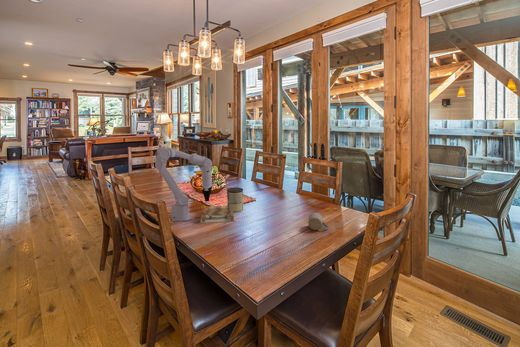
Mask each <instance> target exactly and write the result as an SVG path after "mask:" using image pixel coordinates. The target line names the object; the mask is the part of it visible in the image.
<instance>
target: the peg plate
mask: <svg viewBox="0 0 520 347" xmlns="http://www.w3.org/2000/svg"><path fill="white" fill-rule="evenodd" d="M235 214H236V213H233V210H230V212H229V213H228V215H223V216H208V214H207V211H206V210H203V211H202V215H201V216H200V224H206V223H207V224H210V223H229V222H233V223H234V222H236V221H237V220H236V215H235Z"/></svg>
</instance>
